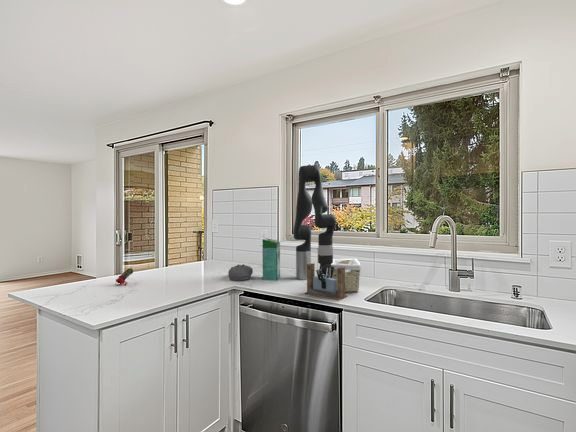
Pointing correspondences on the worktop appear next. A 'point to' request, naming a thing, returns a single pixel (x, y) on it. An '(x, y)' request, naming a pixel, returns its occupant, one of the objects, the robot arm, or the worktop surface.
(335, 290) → the light blue block
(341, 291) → the wooden u-shaped rack
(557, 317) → the worktop surface
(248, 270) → the grey rounded bag
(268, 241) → the milk carton
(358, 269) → the storage basket
